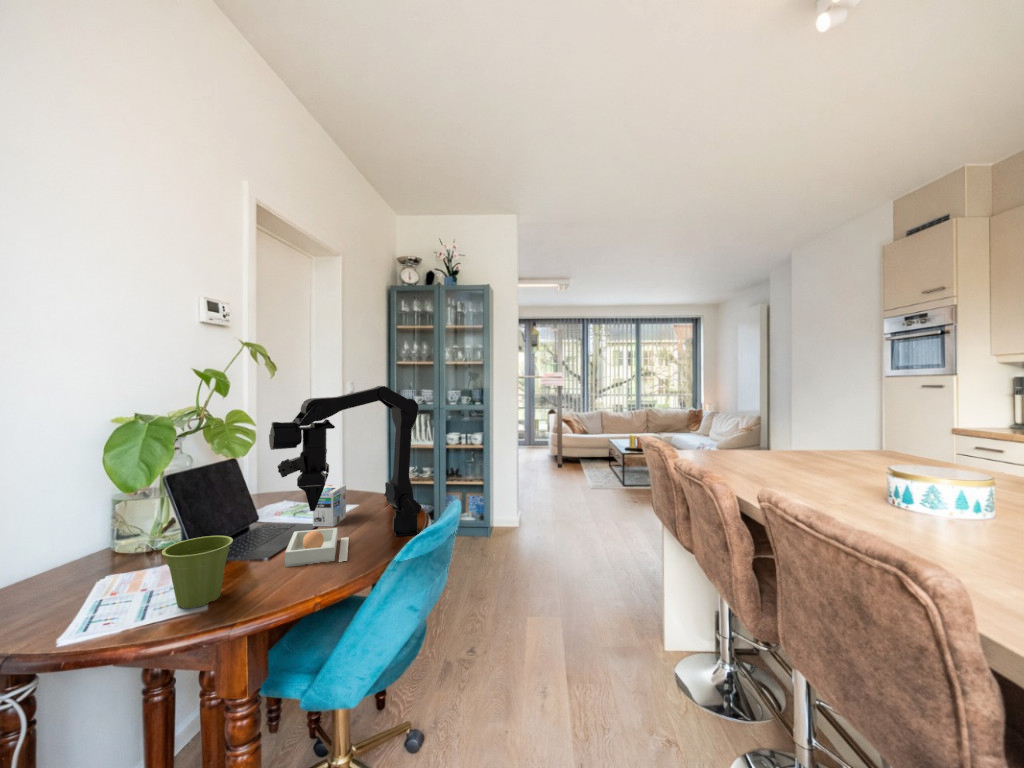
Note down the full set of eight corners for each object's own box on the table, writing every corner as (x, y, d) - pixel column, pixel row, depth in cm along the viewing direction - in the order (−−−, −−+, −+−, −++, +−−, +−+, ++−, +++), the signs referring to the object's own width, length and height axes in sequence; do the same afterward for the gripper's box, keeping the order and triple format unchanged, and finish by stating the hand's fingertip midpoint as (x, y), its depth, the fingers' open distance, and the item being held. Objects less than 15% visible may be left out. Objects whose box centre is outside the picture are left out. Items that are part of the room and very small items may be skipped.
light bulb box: (333, 527, 139) (333, 492, 139) (311, 527, 139) (311, 491, 139) (346, 516, 149) (346, 484, 149) (326, 516, 149) (326, 484, 149)
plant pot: (225, 582, 100) (225, 531, 100) (239, 601, 91) (239, 545, 91) (157, 600, 92) (157, 544, 92) (166, 622, 83) (166, 561, 83)
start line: (348, 537, 129) (348, 537, 129) (347, 561, 112) (347, 560, 112) (341, 538, 128) (341, 538, 128) (338, 562, 111) (338, 561, 111)
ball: (324, 546, 121) (324, 527, 121) (322, 552, 116) (323, 533, 116) (303, 548, 119) (304, 529, 119) (301, 555, 114) (301, 535, 114)
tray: (337, 540, 127) (337, 527, 127) (334, 561, 112) (334, 547, 112) (294, 544, 123) (294, 531, 123) (285, 567, 108) (285, 552, 108)
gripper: (285, 443, 124) (285, 499, 124) (273, 453, 107) (273, 519, 107) (329, 441, 128) (329, 496, 128) (324, 451, 110) (324, 515, 110)
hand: (314, 506), depth 118 cm, fingers open, 9 cm apart
